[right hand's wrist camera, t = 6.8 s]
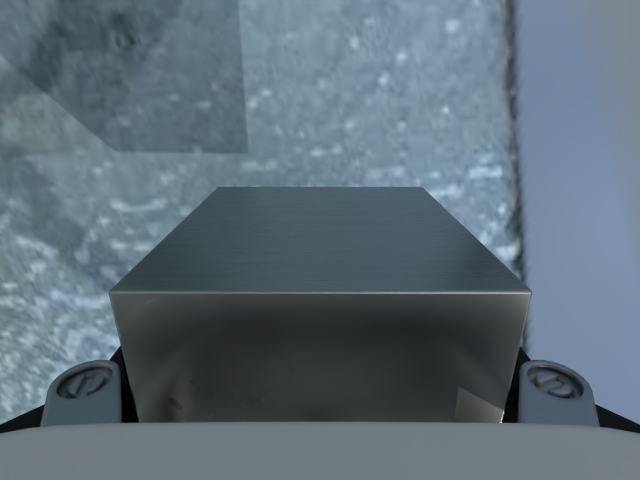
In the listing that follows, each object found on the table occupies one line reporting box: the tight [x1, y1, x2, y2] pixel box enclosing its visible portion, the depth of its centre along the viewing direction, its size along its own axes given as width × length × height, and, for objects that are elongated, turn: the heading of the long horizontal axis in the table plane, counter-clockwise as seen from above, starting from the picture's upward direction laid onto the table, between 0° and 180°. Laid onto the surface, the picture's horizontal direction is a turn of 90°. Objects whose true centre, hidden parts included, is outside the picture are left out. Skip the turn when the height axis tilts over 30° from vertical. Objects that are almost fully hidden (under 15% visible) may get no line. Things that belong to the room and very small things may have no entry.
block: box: [109, 187, 532, 423], centre depth 11 cm, size 7×7×7 cm
